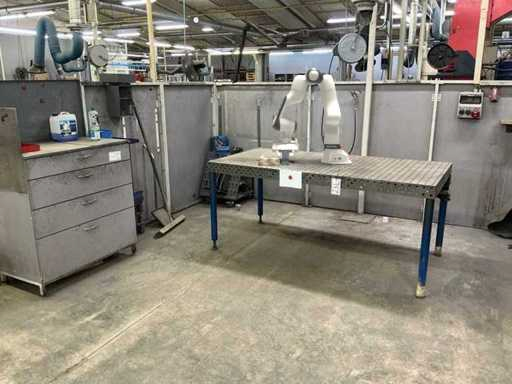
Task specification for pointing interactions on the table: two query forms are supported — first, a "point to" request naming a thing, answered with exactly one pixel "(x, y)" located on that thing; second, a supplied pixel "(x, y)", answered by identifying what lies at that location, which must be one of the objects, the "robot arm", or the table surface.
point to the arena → (269, 161)
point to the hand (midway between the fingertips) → (285, 156)
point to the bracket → (285, 157)
